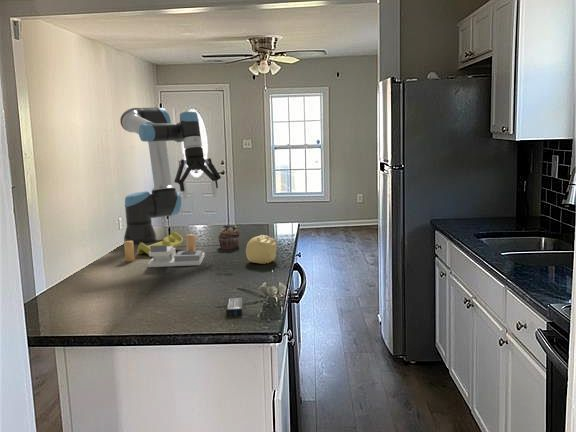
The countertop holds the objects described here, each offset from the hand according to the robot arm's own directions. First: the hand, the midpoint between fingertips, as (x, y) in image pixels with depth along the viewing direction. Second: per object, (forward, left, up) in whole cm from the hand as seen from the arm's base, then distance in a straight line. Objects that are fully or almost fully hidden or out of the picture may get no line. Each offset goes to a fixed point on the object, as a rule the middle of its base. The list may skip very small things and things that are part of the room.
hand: (200, 197), depth 234 cm
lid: (+20, -14, -19) cm, 31 cm away
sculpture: (+23, +25, -24) cm, 41 cm away
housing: (+15, -9, -23) cm, 29 cm away
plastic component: (-5, -19, -24) cm, 31 cm away
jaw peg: (+10, -29, -24) cm, 39 cm away
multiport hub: (+81, +18, -24) cm, 86 cm away
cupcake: (-9, +10, -24) cm, 27 cm away
